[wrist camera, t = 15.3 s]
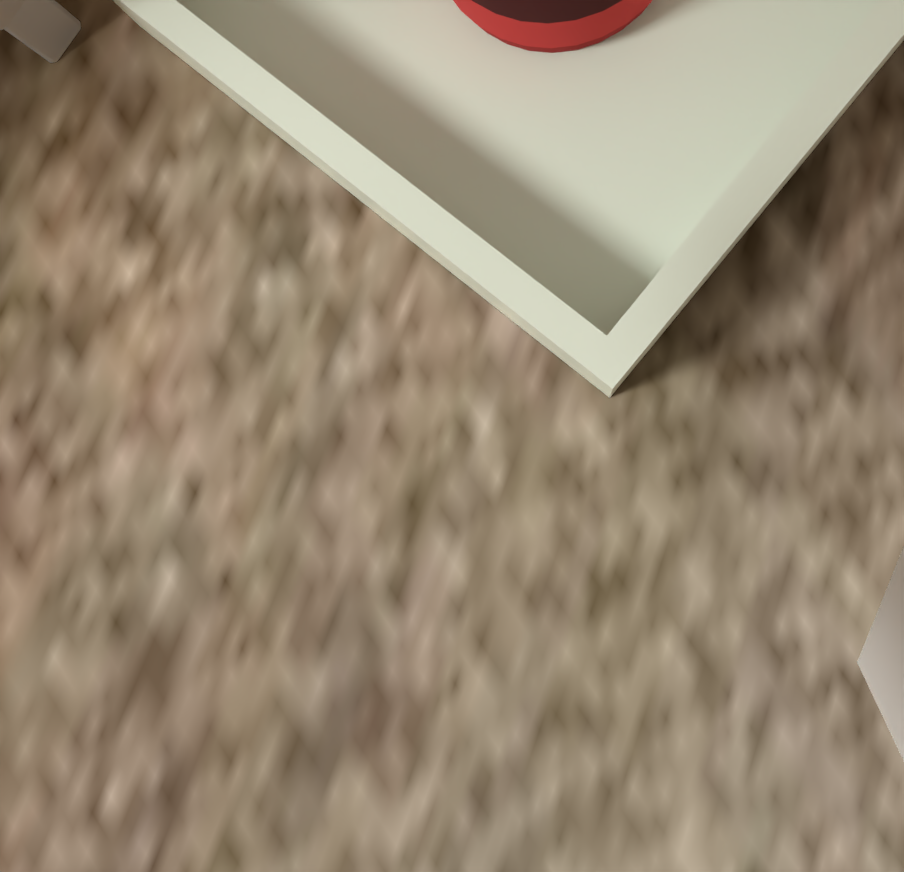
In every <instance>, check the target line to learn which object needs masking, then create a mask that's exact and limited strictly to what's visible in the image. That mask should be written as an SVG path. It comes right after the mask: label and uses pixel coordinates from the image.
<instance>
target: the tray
mask: <svg viewBox="0 0 904 872" xmlns="http://www.w3.org/2000/svg"><path fill="white" fill-rule="evenodd" d="M113 1H114V2H115V3H116V4H117V5H118V6H119V7H120V8H121V9H122V10H123V11H124V12H125V13H126V14H127V15H128V16H129V17H131V18H132V19H133V20H134V21H135V22H136V23H137V24H138V25H139V26H140V27H141V28H143V29H144V30H145V31H146V32H148V33H149V34H150V35H151V36H153V37H154V38H155V39H157V40H158V41H159V42H160V43H162V44H163V45H164V46H165V47H167V48H168V49H169V50H170V51H172V52H173V53H174V54H176V55H177V56H178V57H179V58H181V59H182V60H183V61H184V62H186V63H187V64H188V65H189V66H191V67H192V68H193V69H194V70H196V71H197V72H198V73H200V74H201V75H202V76H203V77H205V78H206V79H207V80H208V81H210V82H211V83H212V84H213V85H215V86H216V87H217V88H219V89H220V90H221V91H222V92H224V93H225V94H226V95H227V96H229V97H230V98H231V99H232V100H234V101H235V102H236V103H237V104H239V105H240V106H241V107H243V108H244V109H245V110H246V111H248V112H249V113H250V114H251V115H253V116H254V117H255V118H256V119H258V120H259V121H260V122H262V123H263V124H264V125H265V126H267V127H268V128H269V129H270V130H272V131H273V132H274V133H275V134H277V135H278V136H279V137H280V138H282V139H283V140H284V141H286V142H287V143H288V144H289V145H291V146H292V147H293V148H294V149H296V150H297V151H298V152H299V153H301V154H302V155H303V156H305V157H306V158H307V159H308V160H310V161H311V162H312V163H313V164H315V165H316V166H317V167H318V168H320V169H321V170H322V171H324V172H325V173H326V174H327V175H329V176H330V177H331V178H332V179H334V180H335V181H336V182H337V183H339V184H340V185H341V186H342V187H344V188H345V189H346V190H348V191H349V192H350V193H351V194H353V195H354V196H355V197H356V198H358V199H359V200H360V201H361V202H363V203H364V204H365V205H367V206H368V207H369V208H370V209H372V210H373V211H374V212H375V213H377V214H378V215H379V216H380V217H382V218H383V219H384V220H385V221H387V222H388V223H389V224H391V225H392V226H393V227H394V228H396V229H397V230H398V231H399V232H401V233H402V234H403V235H404V236H406V237H407V238H408V239H410V240H411V241H412V242H413V243H415V244H416V245H417V246H418V247H420V248H421V249H422V250H423V251H425V252H426V253H427V254H428V255H430V256H431V257H432V258H434V259H435V260H436V261H437V262H439V263H440V264H441V265H442V266H444V267H445V268H446V269H447V270H449V271H450V272H451V273H453V274H454V275H455V276H456V277H458V278H459V279H460V280H461V281H463V282H464V283H465V284H466V285H468V286H469V287H470V288H471V289H473V290H474V291H475V292H477V293H478V294H479V295H480V296H482V297H483V298H484V299H485V300H487V301H488V302H489V303H490V304H492V305H493V306H494V307H496V308H497V309H498V310H499V311H501V312H502V313H503V314H504V315H506V316H507V317H508V318H509V319H511V320H512V321H513V322H514V323H516V324H517V325H518V326H520V327H521V328H522V329H523V330H525V331H526V332H527V333H528V334H530V335H531V336H532V337H533V338H535V339H536V340H537V341H539V342H540V343H541V344H542V345H544V346H545V347H546V348H547V349H549V350H550V351H551V352H552V353H554V354H555V355H556V356H557V357H559V358H560V359H561V360H563V361H564V362H565V363H566V364H568V365H569V366H570V367H571V368H573V369H574V370H575V371H576V372H578V373H579V374H580V375H582V376H583V377H584V378H585V379H587V380H588V381H589V382H590V383H592V384H593V385H594V386H595V387H597V388H598V389H599V390H600V391H602V392H603V393H604V394H606V395H607V396H608V397H609V398H610V397H611V396H612V395H613V393H614V392H615V391H616V390H617V389H618V387H619V386H620V385H621V384H622V382H623V381H624V380H625V379H626V378H627V376H628V375H629V374H630V373H631V371H632V370H633V369H634V368H635V367H636V365H637V364H638V363H639V362H640V361H641V359H642V358H643V357H644V356H645V354H646V353H647V352H648V351H649V350H650V348H651V347H652V346H653V345H654V344H655V342H656V341H657V340H658V339H659V337H660V336H661V335H662V334H663V333H664V331H665V330H666V329H667V328H668V326H669V325H670V324H671V323H672V322H673V320H674V319H675V318H676V317H677V316H678V314H679V313H680V312H681V311H682V309H683V308H684V307H685V306H686V305H687V303H688V302H689V301H690V300H691V299H692V297H693V296H694V295H695V294H696V292H697V291H698V290H699V289H700V288H701V286H702V285H703V284H704V283H705V281H706V280H707V279H708V278H709V277H710V275H711V274H712V273H713V272H714V271H715V269H716V268H717V267H718V266H719V264H720V263H721V262H722V261H723V260H724V258H725V257H726V256H727V255H728V253H729V252H730V251H731V250H732V249H733V247H734V246H735V245H736V244H737V243H738V241H739V240H740V239H741V238H742V236H743V235H744V234H745V233H746V232H747V230H748V229H749V228H750V227H751V226H752V224H753V223H754V222H755V221H756V219H757V218H758V217H759V216H760V215H761V213H762V212H763V211H764V210H765V208H766V207H767V206H768V205H769V204H770V202H771V201H772V200H773V199H774V198H775V196H776V195H777V194H778V193H779V191H780V190H781V189H782V188H783V187H784V185H785V184H786V183H787V182H788V181H789V179H790V178H791V177H792V176H793V174H794V173H795V172H796V171H797V170H798V168H799V167H800V166H801V165H802V163H803V162H804V161H805V160H806V159H807V157H808V156H809V155H810V154H811V153H812V151H813V150H814V149H815V148H816V146H817V145H818V144H819V143H820V142H821V140H822V139H823V138H824V137H825V136H826V134H827V133H828V132H829V131H830V129H831V128H832V127H833V126H834V125H835V123H836V122H837V121H838V120H839V118H840V117H841V116H842V115H843V114H844V112H845V111H846V110H847V109H848V108H849V106H850V105H851V104H852V103H853V101H854V100H855V99H856V98H857V97H858V95H859V94H860V93H861V92H862V91H863V89H864V88H865V87H866V86H867V84H868V83H869V82H870V81H871V80H872V78H873V77H874V76H875V75H876V73H877V72H878V71H879V70H880V69H881V67H882V66H883V65H884V64H885V63H886V61H887V60H888V59H889V58H890V56H891V55H892V54H893V53H894V52H895V50H896V49H897V48H898V47H899V46H900V44H901V43H902V42H903V41H904V0H652V2H651V3H650V4H649V5H648V6H647V8H646V9H645V10H644V11H643V12H642V14H641V15H640V16H638V17H637V18H636V19H635V20H634V21H632V22H631V23H630V24H629V25H627V26H626V27H625V28H624V29H623V30H621V31H620V32H618V33H616V34H614V35H612V36H611V37H609V38H607V39H605V40H603V41H602V42H600V43H597V44H594V45H591V46H588V47H585V48H581V49H578V50H574V51H565V52H556V53H547V52H536V51H528V50H524V49H521V48H518V47H515V46H511V45H508V44H506V43H504V42H502V41H500V40H499V39H497V38H495V37H493V36H491V35H490V34H488V33H486V32H485V31H484V30H483V29H481V28H480V27H479V26H478V25H477V24H476V23H474V22H473V21H472V20H471V19H470V18H469V17H468V16H466V15H465V14H464V13H463V12H462V11H461V10H460V9H459V8H458V6H457V5H456V4H455V2H454V1H453V0H113Z"/></svg>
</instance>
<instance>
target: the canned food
mask: <svg viewBox="0 0 904 872" xmlns="http://www.w3.org/2000/svg"><path fill="white" fill-rule="evenodd" d="M453 1H454V2H455V4H456V5H457V6H458V8H459V9H460V10H461V11H462V12H463V13H464V14H465V15H466V16H468V17H469V18H470V19H471V20H472V21H473V22H474V23H476V24H477V25H478V26H479V27H480V28H481V29H483V30H484V31H485V32H486V33H488V34H490V35H491V36H493V37H495V38H497V39H499V40H500V41H502V42H504V43H506V44H508V45H511V46H515V47H518V48H521V49H524V50H528V51H536V52H547V53H556V52H565V51H574V50H578V49H581V48H585V47H588V46H591V45H594V44H597V43H600V42H602V41H603V40H605V39H607V38H609V37H611V36H612V35H614V34H616V33H618V32H620V31H621V30H623V29H624V28H625V27H626V26H627V25H629V24H630V23H631V22H632V21H634V20H635V19H636V18H637V17H638V16H640V15H641V14H642V12H643V11H644V10H645V9H646V8H647V6H648V5H649V4H650V3H651V2H652V0H453Z"/></svg>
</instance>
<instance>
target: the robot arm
mask: <svg viewBox="0 0 904 872" xmlns="http://www.w3.org/2000/svg"><path fill="white" fill-rule="evenodd" d="M857 663H858V665H859V667H860V669H861V672H862V674H863V676H864V678H865V680H866V682H867V684H868V686H869V688H870V691H871V693H872V695H873V697H874V699H875V701H876V703H877V705H878V707H879V710H880V712H881V714H882V716H883V718H884V720H885V722H886V724H887V727H888V729H889V731H890V733H891V735H892V737H893V739H894V741H895V743H896V746H897V748H898V750H899V752H900V754H901V756H902V758H903V760H904V547H903V549H902V552H901V554H900V557H899V559H898V562H897V564H896V567H895V569H894V572H893V574H892V577H891V579H890V582H889V584H888V587H887V589H886V592H885V594H884V597H883V599H882V602H881V604H880V607H879V609H878V612H877V614H876V617H875V619H874V622H873V624H872V627H871V629H870V632H869V634H868V637H867V639H866V642H865V644H864V647H863V649H862V651H861V654H860V656H859V659H858V661H857Z"/></svg>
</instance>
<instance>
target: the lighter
mask: <svg viewBox="0 0 904 872" xmlns="http://www.w3.org/2000/svg"><path fill="white" fill-rule="evenodd" d="M3 29H4V30H6V31H7V32H8V33H10V34H11V35H12V36H14V37H15V38H17V39H18V40H19V41H21V42H22V43H23V44H25V45H26V46H28V47H29V48H30V49H32V50H33V51H35V52H36V53H37V54H39V55H40V56H41V57H43V58H44V59H46V60H47V61H48V62H50V63H54V62H57V61H58V60H59V58H60V57H61V56H62V54H63V53H64V52H65V50H66V49H67V47H68V46H69V45H70V43H71V42H72V40H73V39H74V38H75V36H76V35H77V33H78V32H79V31H80V29H81V24H80V21H79V20H78V19H76V18H75V17H74V16H73V15H72V14H71V13H69V12H68V11H67V10H66V9H65V8H64V7H62V6H61V5H60V4H59V3H58V2H56V1H55V0H0V30H3Z"/></svg>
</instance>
